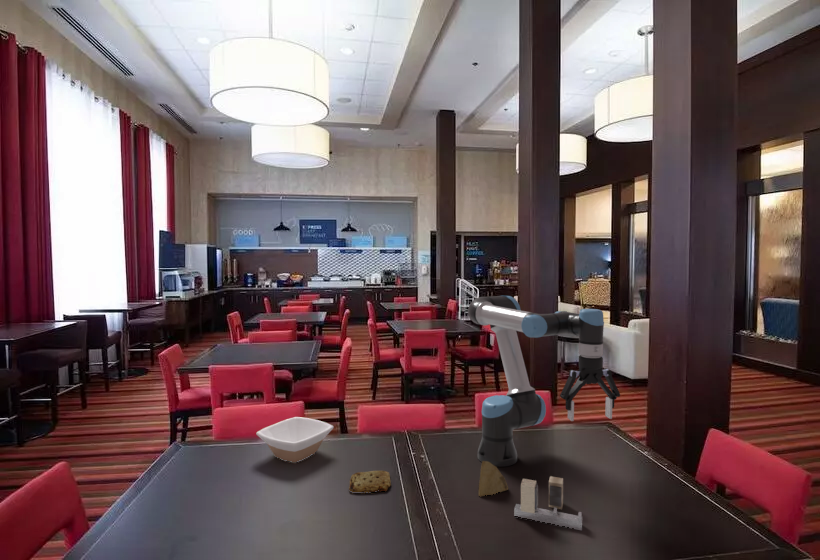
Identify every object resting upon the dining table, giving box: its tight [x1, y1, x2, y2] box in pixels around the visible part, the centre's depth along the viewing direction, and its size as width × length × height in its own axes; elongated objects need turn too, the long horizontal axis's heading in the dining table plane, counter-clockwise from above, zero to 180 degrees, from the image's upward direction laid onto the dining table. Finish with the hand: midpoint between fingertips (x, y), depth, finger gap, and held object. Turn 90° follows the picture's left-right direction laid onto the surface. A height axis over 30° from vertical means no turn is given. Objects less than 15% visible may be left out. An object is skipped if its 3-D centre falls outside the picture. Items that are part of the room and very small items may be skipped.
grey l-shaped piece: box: [513, 478, 583, 531], centre depth 135 cm, size 19×4×10 cm, turn 68°
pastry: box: [348, 470, 392, 494], centre depth 159 cm, size 17×17×3 cm
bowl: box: [256, 416, 334, 462], centre depth 182 cm, size 24×25×11 cm
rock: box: [477, 461, 509, 498], centre depth 152 cm, size 11×9×10 cm
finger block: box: [548, 475, 564, 510], centre depth 144 cm, size 4×4×8 cm
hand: (589, 418), depth 154 cm, fingers open, 13 cm apart
